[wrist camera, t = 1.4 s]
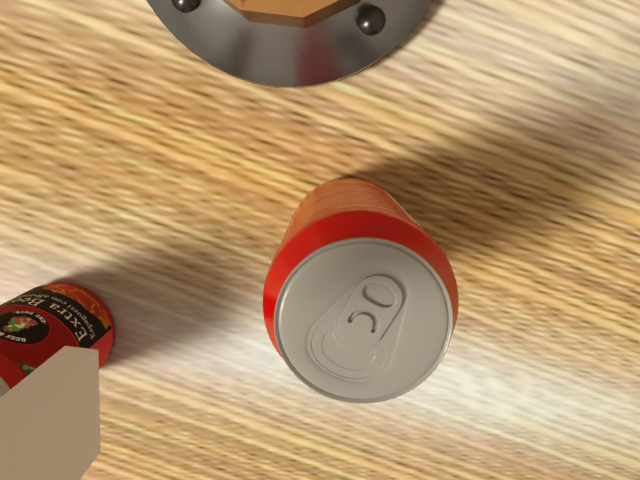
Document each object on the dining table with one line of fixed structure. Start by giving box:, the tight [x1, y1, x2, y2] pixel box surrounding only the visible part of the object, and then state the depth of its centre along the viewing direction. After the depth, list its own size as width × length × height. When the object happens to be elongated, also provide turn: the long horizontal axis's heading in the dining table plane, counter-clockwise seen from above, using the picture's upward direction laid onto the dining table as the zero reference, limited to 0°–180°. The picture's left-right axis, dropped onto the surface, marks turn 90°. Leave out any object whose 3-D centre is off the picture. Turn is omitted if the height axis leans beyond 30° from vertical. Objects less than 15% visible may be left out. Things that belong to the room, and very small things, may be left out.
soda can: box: [263, 178, 458, 403], centre depth 22 cm, size 8×8×15 cm
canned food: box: [0, 283, 115, 398], centre depth 27 cm, size 8×8×11 cm
